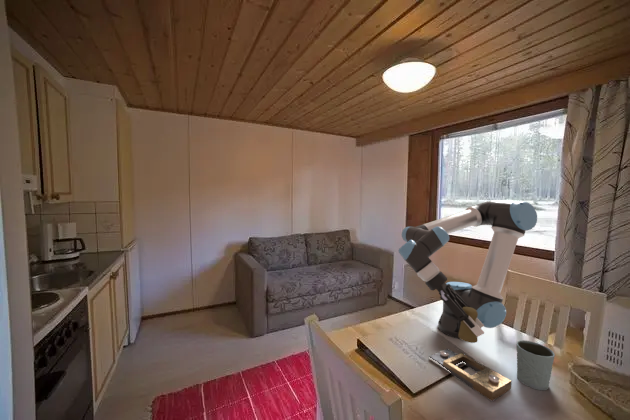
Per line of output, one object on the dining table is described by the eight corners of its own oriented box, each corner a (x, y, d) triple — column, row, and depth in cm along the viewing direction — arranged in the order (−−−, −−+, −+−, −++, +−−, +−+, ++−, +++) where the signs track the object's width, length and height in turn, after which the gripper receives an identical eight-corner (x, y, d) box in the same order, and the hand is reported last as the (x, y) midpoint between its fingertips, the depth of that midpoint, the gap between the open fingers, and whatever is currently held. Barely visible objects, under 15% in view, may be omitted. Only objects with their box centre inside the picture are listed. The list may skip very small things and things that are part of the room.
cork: (470, 344, 90) (472, 313, 90) (454, 335, 96) (456, 306, 95) (481, 340, 93) (483, 310, 92) (464, 332, 98) (466, 303, 98)
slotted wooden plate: (428, 359, 103) (429, 349, 102) (447, 351, 108) (447, 342, 108) (492, 401, 82) (492, 388, 82) (510, 389, 88) (511, 377, 87)
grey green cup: (510, 378, 93) (512, 346, 92) (519, 367, 99) (521, 336, 98) (548, 396, 85) (550, 360, 84) (555, 383, 91) (557, 349, 90)
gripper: (428, 275, 109) (471, 325, 101) (420, 288, 94) (470, 348, 86) (442, 265, 106) (489, 315, 98) (437, 276, 90) (491, 337, 83)
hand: (480, 330), depth 92 cm, fingers closed on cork, 5 cm apart
